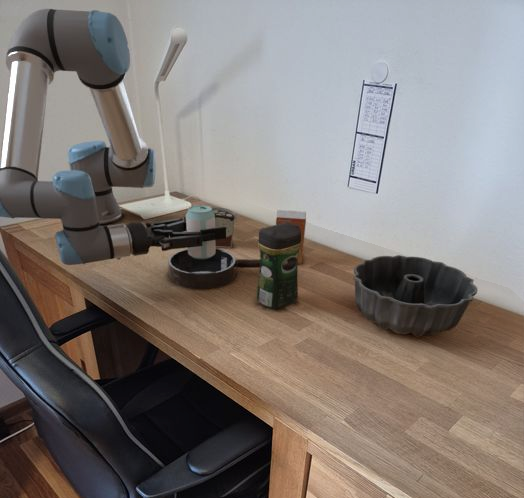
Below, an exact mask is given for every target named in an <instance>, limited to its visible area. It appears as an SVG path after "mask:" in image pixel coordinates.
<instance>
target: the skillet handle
mask: <svg viewBox="0 0 524 498" xmlns="http://www.w3.org/2000/svg"><path fill="white" fill-rule="evenodd" d="M236 268H237V269H260V259H259V258H254V259H253V258H244V259H243V258H238V259H237V258H236V259H235V269H236Z"/></svg>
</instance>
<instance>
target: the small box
mask: <svg viewBox="0 0 524 498" xmlns="http://www.w3.org/2000/svg"><path fill="white" fill-rule="evenodd" d="M286 222H290V223H292V224H295V225H297V226H299V227H300V230H301V246H300V250H299V254H298V265H302V263H303V253H304V243H305V232H306V224H307V212H306V211H297V210H282V209H281V210H280V209H277V210H276V217H275V225H278V224H282V223H286Z"/></svg>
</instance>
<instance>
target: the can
mask: <svg viewBox="0 0 524 498" xmlns="http://www.w3.org/2000/svg"><path fill="white" fill-rule="evenodd" d="M212 208H213V207H211V206H209V205H205V204H195V205H191V206H189V207H188V208H187V212H186V214H185V217H186V228H187V231H186V232H200V230H205V229H212V228H215V215H214V213H213V211H212ZM202 244H203V246H199V247H189V248H187V249H188V254H189V255H190V256H192V257H193V258H196V259H208V258H210V257H212V256H213V255H214V254H215V253H216V249H217V247H215V240H211V241H205V242H202Z"/></svg>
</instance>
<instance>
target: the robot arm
mask: <svg viewBox="0 0 524 498" xmlns="http://www.w3.org/2000/svg"><path fill="white" fill-rule="evenodd" d="M5 65H6V68H7V70H8V71H9V72H10V73H9V78H8V87H7V95H6V104H5V114H4V122H3V132H2V138H1V139H2V140H1V147H0V218H7V219H8V218H9V219H19V218H21V219H55V220H60V221H61V225H62V230H60V231H59V230H58V231H56V232H55V234H54V236H55V242H56V248H57V252H58V255H59V258H60V261H61V262H62V264H64V265H66V266H72V265H86V264H90V263H95V262H102V261H109V260H114V259H116V260H119V261H120V260H121V259H122V258H128V257H131V255H132V256H134V257H135V256H142V255H148V254H149V252H150V248H151V247H156V248H161V251H162V252H166V251H170V250H177V249H179V250H180V249H188V248H189V247H199V246H203V244H202V242H205V241H211V240H218V239H225V238H226V227H219V228H212V229H205V230H200V232H187V228H186V216H183V217H177V218H172V219H167V220H166V219H165V220H160V221H159V220H158V221H152V222H145V224H144V222H142V221H133V222H127V223H126V224H125V223H116V222H118V221H119V220H121V219H122V217H123V215H122V210H121V207H120V205H119V203H118V201H117V199H116V197H115V195H114V192H113V188H132V189H133V188H134V189H144V188H146V189H147V188H152V187H153V186H154V185H155V181H156V169H157V168H156V165H157V163H156V162H157V161H156V157H157V156H156V151H155V149H154V148H151V147H148V145H147V143H146V142H145V140H143V139H142V138H140V135H139V132H138V128H137V125H136V122H135V118H134V114H133V110H132V107H131V104H130V101H129V97H128V94H127V90H126V86H125V83H124V80H125V78H126V75H127V73H128V72H129V70H130V67H131V54H130V49H129V42H128V38H127V35H126V32H125V29H124V27H123V25H122V23H121V21H120V19H118V17H117V16H116V15H114V14H113V13H111V12H106V11H100V10H97V9H95V10H91V11H89V10H73V9H72V10H71V9H55V8H54V9H53V8H43V9H38V10H35V11H34V12H32V13H30V14H28V16H26V17H25V18H24V19H23V20H22V21H21V22H20V24H18V26H17V27H16V29H15V30H14V31H13V34H12V36H11V38H10V40H9V43H8V46H7V50H6V58H5ZM60 71H61V72H76V75H77V77H78V79H79V82H81V84H82V85H83V86H85V87H86V88H88V89H89V91H90V93H91V96H92V99H93V102H94V104H95V107H96V109H97V113H98V115H99V118H100V120H101V123H102V125H103V129H104V131H105V133H106V137H107V139H108V142H109V144H110V145H109V146H107V144H106V142H105V141H104V140H93V141H92V140H91V141H85V142H80V143H77V144H73V145H71V146H69V148H68V149H67V157H68V165H69V169H70V170H60V171H57V172H55V173H54V174H53V175H52V181H51V180H50V181H49V180H47V181H46V180H38V179H39V172H40V171H39V170H40V162H41V151H42V144H43V134H44V124H45V115H46V107H47V98H48V97H47V96H48V88H49V85H51V84H52V83H53V81H54V79H55V73H57V72H60ZM112 223H116V224H112ZM101 225H103V226H101Z"/></svg>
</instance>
